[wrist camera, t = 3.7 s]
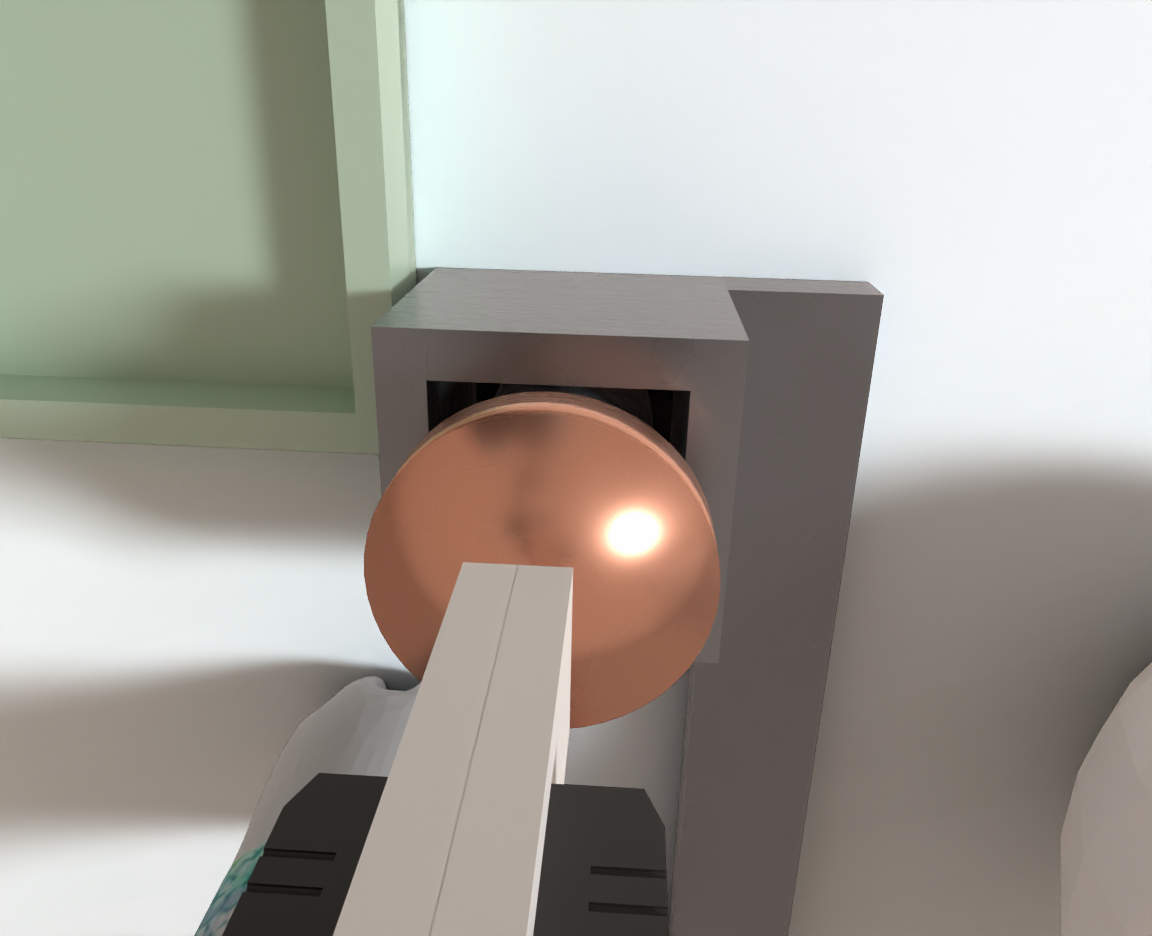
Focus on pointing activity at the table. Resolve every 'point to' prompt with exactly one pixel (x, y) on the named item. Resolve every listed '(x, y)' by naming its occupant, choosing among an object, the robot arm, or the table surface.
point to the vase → (1112, 826)
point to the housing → (734, 495)
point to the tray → (201, 219)
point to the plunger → (555, 535)
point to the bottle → (318, 770)
